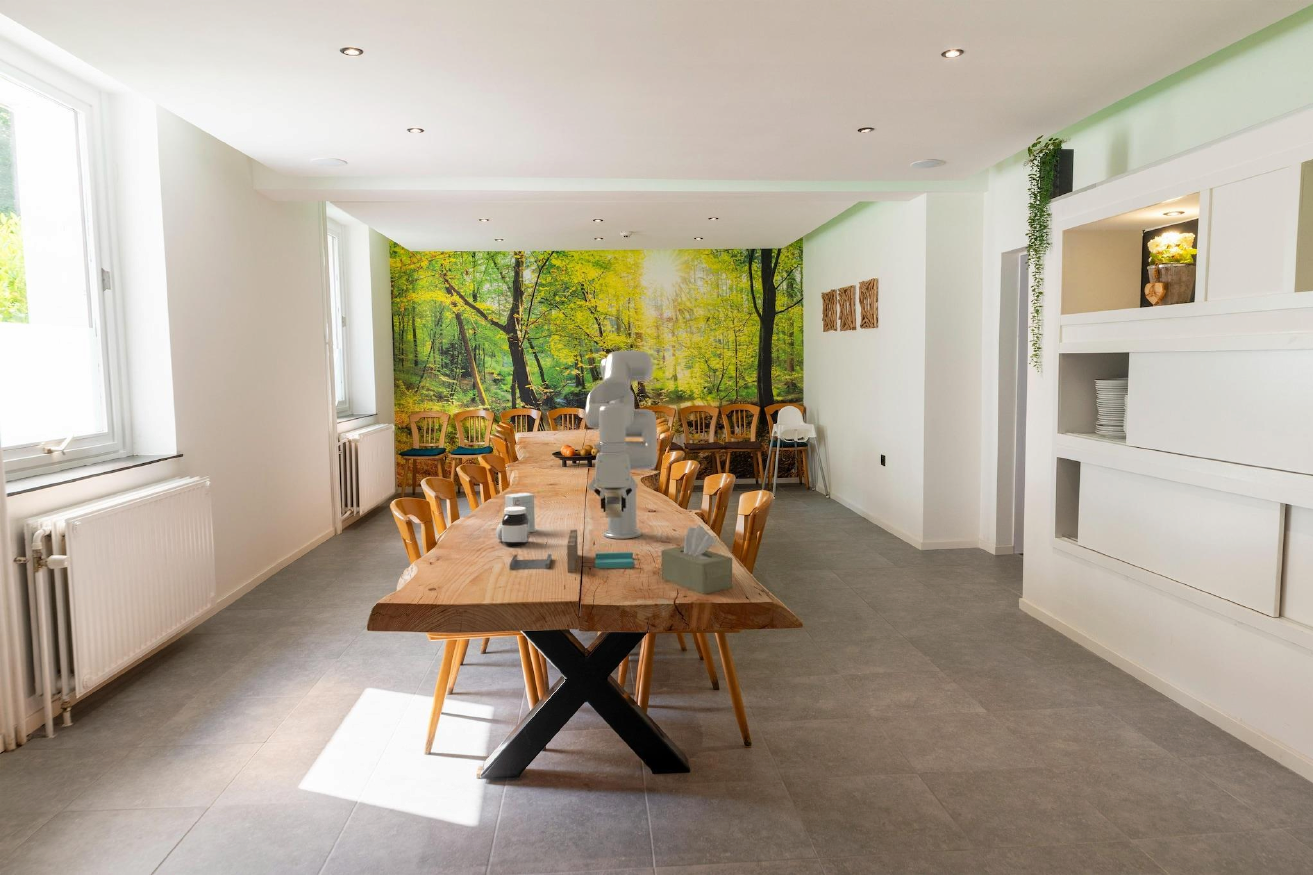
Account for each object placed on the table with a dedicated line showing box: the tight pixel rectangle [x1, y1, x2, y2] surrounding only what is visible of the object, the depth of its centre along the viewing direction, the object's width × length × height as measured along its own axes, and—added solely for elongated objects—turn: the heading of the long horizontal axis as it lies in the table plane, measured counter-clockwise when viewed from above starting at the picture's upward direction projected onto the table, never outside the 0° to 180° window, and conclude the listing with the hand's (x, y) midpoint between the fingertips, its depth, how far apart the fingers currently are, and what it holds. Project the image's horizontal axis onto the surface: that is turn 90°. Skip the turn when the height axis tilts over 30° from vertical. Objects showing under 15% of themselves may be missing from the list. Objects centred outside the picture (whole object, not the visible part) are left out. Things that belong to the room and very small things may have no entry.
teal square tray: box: [594, 551, 635, 569], centre depth 237 cm, size 11×11×2 cm
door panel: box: [566, 529, 579, 573], centre depth 236 cm, size 20×2×8 cm, turn 3°
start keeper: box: [509, 553, 552, 571], centre depth 235 cm, size 11×11×2 cm
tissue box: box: [660, 524, 733, 595], centre depth 215 cm, size 19×10×16 cm, turn 35°
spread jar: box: [494, 507, 530, 547], centre depth 263 cm, size 12×11×12 cm
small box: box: [504, 492, 536, 533], centre depth 280 cm, size 8×6×13 cm
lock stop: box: [604, 488, 622, 519], centre depth 234 cm, size 4×7×8 cm
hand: (613, 510), depth 235 cm, fingers closed on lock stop, 4 cm apart
